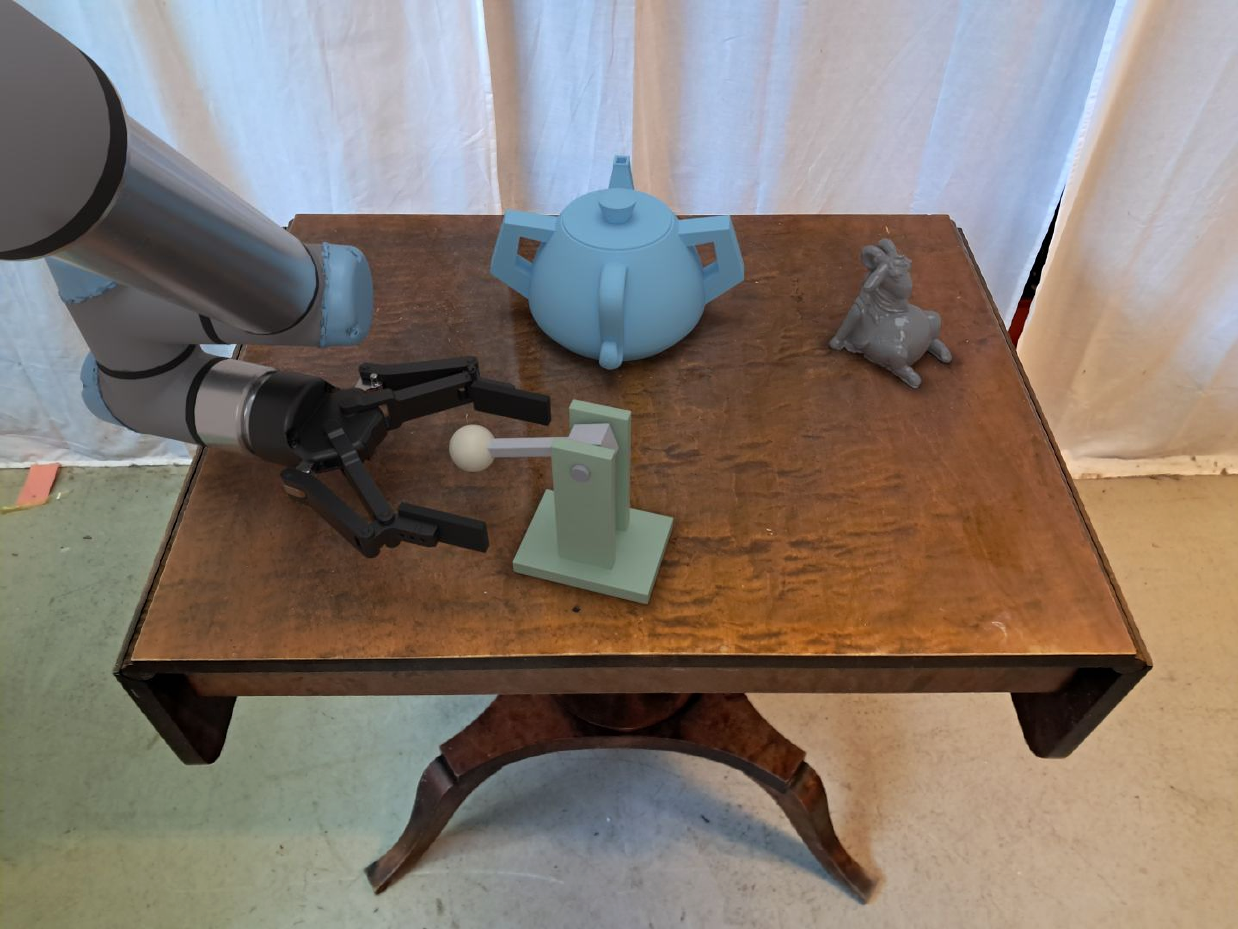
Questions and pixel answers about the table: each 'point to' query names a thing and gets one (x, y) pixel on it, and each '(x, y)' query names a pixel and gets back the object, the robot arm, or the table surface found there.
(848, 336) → the figurine
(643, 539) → the green lever stand
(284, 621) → the table surface
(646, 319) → the teapot
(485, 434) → the knob lever
